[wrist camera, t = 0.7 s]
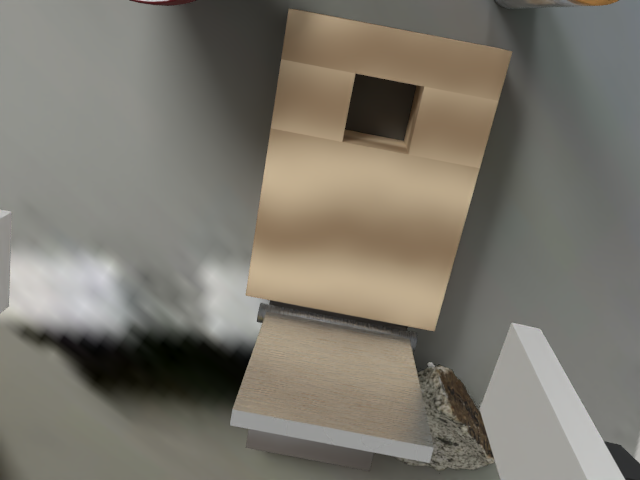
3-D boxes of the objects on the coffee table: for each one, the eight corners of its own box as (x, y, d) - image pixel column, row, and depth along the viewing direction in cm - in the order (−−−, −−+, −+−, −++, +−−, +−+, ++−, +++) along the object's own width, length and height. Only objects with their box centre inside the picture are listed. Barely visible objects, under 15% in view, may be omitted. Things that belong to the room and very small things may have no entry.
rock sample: (321, 439, 42) (427, 482, 36) (365, 338, 44) (471, 362, 38) (398, 483, 48) (499, 526, 42) (432, 392, 51) (532, 420, 45)
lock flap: (261, 300, 39) (222, 403, 27) (416, 329, 39) (446, 445, 27) (259, 317, 39) (218, 427, 27) (412, 346, 39) (439, 468, 27)
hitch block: (296, 9, 36) (288, 8, 32) (496, 47, 36) (512, 51, 32) (232, 419, 46) (221, 454, 43) (388, 448, 46) (391, 487, 43)
